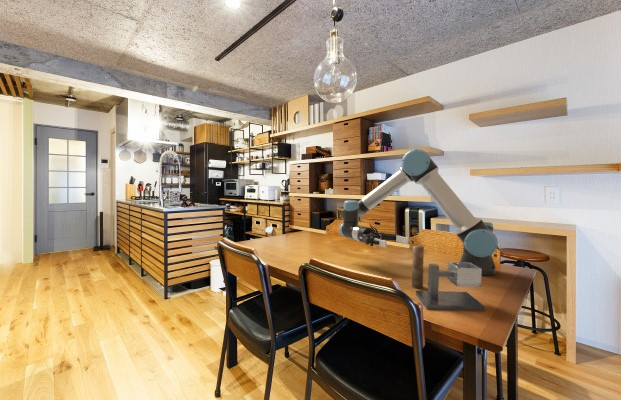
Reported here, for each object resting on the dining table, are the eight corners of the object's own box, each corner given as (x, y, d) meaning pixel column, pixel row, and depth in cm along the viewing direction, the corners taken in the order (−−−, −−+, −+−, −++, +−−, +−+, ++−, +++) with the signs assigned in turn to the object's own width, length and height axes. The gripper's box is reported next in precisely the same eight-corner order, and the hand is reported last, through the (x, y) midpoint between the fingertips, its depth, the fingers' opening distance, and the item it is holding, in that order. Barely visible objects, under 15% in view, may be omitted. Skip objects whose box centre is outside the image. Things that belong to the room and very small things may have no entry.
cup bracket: (466, 295, 103) (467, 260, 102) (484, 310, 91) (486, 271, 90) (415, 294, 104) (416, 259, 103) (426, 309, 92) (427, 269, 91)
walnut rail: (420, 285, 114) (421, 245, 113) (424, 288, 110) (425, 248, 109) (410, 284, 114) (411, 245, 113) (413, 288, 110) (414, 247, 109)
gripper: (381, 239, 144) (416, 248, 126) (342, 244, 131) (375, 255, 113) (382, 224, 143) (417, 231, 125) (343, 228, 131) (376, 236, 112)
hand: (397, 242), depth 119 cm, fingers open, 13 cm apart
